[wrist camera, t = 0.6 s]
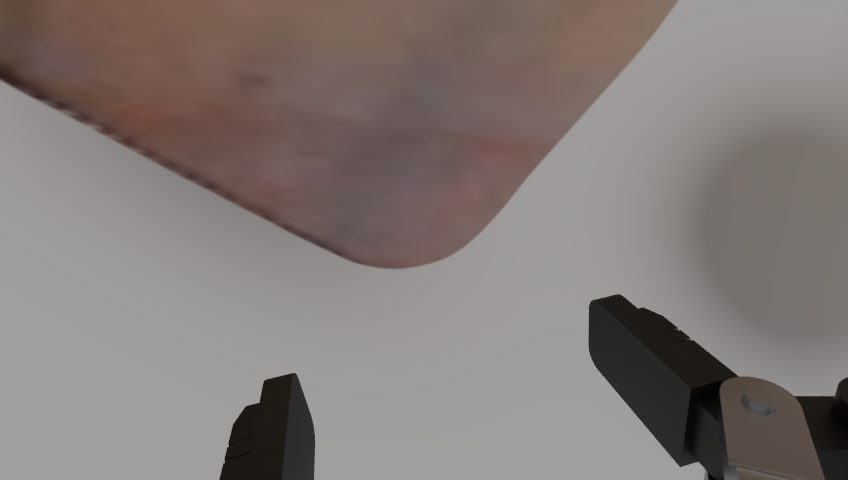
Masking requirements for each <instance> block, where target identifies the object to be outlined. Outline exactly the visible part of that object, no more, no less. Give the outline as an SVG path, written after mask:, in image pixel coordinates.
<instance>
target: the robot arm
mask: <svg viewBox="0 0 848 480" xmlns="http://www.w3.org/2000/svg"><path fill="white" fill-rule="evenodd" d="M589 352H590V355H591V358H592V360H593V363H594V364H595V366H596V368H597V369H598V370H599V371H600V373H601V374H602V375H603V376H604V377H605V378H606V380H607V381H608V382H609V383H610V384H611V386H612V387H613V388H614V389H615V390H616V392H617V393H618V394H619V395H620V396H621V397H622V399H623V400H624V401H625V402H626V403H627V405H629V407H630V408H631V409H632V410H633V412H634V413H635V414H636V415H637V416H638V418H639V419H640V420H641V421H642V422H643V424H644V425H645V426H646V427H647V428H648V429H649V431H650V432H651V433H652V434H653V435H654V437H655V438H656V439H657V440H658V441H659V443H660V444H661V445H662V446H663V447H664V448H665V450H666V451H667V452H668V453H669V454H670V456H671V457H672V458H673V459H674V460H675V462H676V463H677V464H678V465H679V466H680V467H682V466H685V465H689V464H692V463H695V462H700V464H701V465H702V466H703V467H704V468H705V469H706V471H705V478H704V480H848V378H845V379H843V380H841V382H840V383H839V385H838V388H837V391H836V394H835V396H834V397H833V396H831V397H830V396H793V395H792V394H791V393H789V392H788V391H787V390H785V389H784V388H782V387H780V386H778V385H776V384H774V383H772V382H769V381H766V380H763V379H759V378H754V377H739V376H737V375H736V374H735V373H733V372H732V371H731V370H730V369H729V368H727V367H726V366H725V365H724V364H722V363H721V362H720V361H719V360H717V359H716V358H715V357H714V356H712V355H711V354H710V353H709V352H707V351H706V350H705V349H704V348H702V347H701V346H700V345H698V344H697V343H696V342H695V341H691V340H690V337H689V336H687V335H686V334H685V333H683V332H682V331H681V330H680V331H679V330H678V328H677V327H676V326H674V325H673V324H672V323H671V322H670V321H668V320H667V319H666V318H665V317H663V316H661V315H659V314H657V313H655V312H652V311H650V310H648V309H645V308H639V309H637V308H636V307H635V306H634V305H632V303H630V302H629V301H628V300H627V299H626V298H624V297H623V296H622V295H619V294H617V295H613V296H609V297H605V298H601V299H597V300H593V301H591V303H590V305H589ZM314 456H315V434H314V426H313V421H312V417H311V414H310V411H309V409H308V405H307V403H306V400H305V397H304V394H303V391H302V388H301V385H300V382H299V379H298V377H297V375H296V374H295V373H292V374H288V375H284V376H280V377H275V378H272V379H267V380H265V381H264V383H263V388H262V393H261V399H260V403H257V404H253V405H249V406H246V407H245V408H244V410H243V411H242V413H241V414H240V415H239V417H238V418H237V420H236V421H235V423H234V424H233V428H232V431H231V435H230V439H229V447H228V448H227V451H226V455H225V463H224V464H223V468H222V472H221V476H220V480H314V460H315V459H314V458H315V457H314Z"/></svg>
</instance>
